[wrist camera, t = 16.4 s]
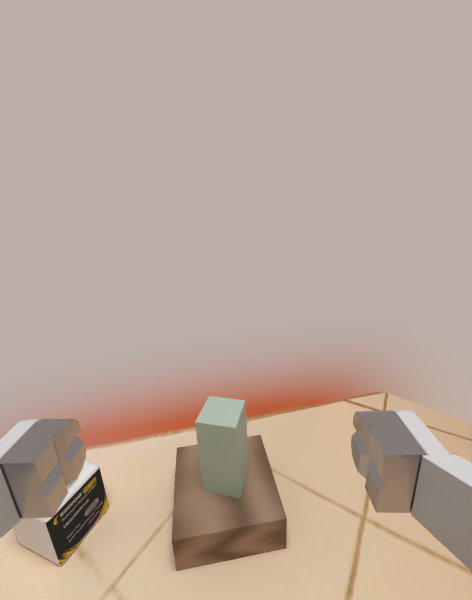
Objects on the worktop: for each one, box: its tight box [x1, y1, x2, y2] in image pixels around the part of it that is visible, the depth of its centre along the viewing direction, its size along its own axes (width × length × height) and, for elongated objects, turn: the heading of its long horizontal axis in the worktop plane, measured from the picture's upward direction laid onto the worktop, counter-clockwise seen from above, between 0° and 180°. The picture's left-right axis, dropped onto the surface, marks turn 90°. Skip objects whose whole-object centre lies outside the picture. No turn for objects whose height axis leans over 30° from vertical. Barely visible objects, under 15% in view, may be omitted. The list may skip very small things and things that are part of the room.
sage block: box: [195, 396, 249, 499], centre depth 34 cm, size 4×4×10 cm
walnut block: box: [172, 435, 286, 571], centre depth 36 cm, size 12×12×5 cm
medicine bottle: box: [13, 461, 109, 566], centre depth 34 cm, size 7×7×12 cm
